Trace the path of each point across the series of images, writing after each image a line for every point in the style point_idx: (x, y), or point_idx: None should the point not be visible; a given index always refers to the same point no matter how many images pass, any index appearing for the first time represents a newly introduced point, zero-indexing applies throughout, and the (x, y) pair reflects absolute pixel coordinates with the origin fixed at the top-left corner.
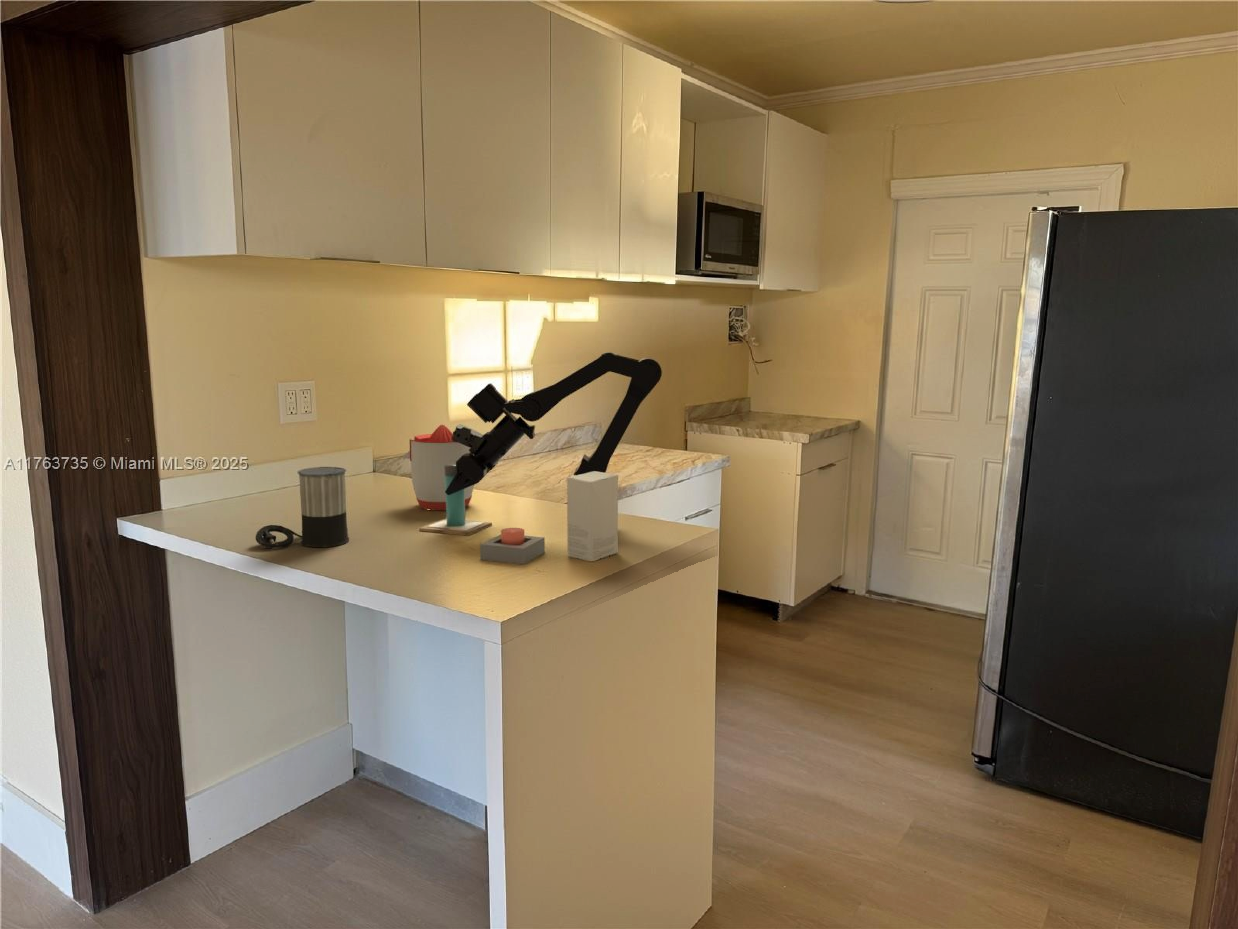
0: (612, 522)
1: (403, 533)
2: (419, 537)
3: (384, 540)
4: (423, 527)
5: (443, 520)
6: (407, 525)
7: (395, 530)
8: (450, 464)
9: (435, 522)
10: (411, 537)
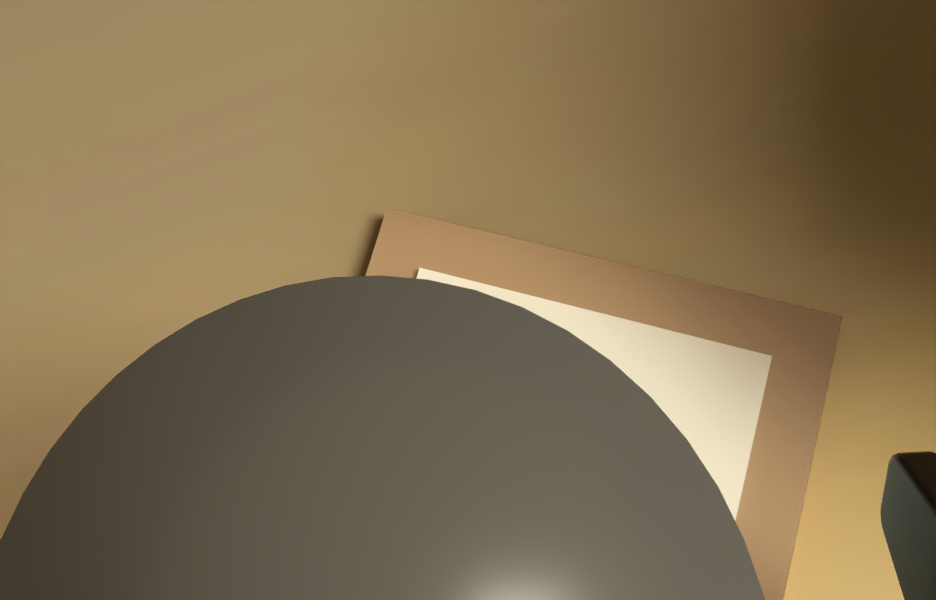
0: None
1: (295, 119)
2: (163, 297)
3: (72, 64)
4: (405, 240)
5: (692, 350)
6: (589, 45)
7: (395, 19)
8: (466, 475)
9: (627, 286)
10: (163, 231)
